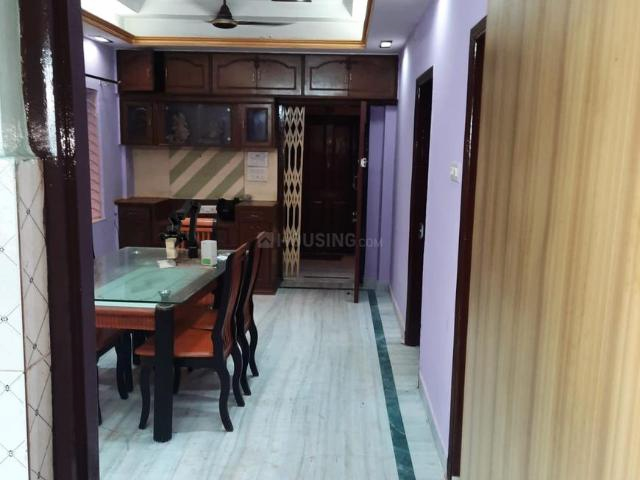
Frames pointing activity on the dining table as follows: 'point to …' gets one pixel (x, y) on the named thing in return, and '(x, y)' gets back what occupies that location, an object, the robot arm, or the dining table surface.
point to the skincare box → (209, 252)
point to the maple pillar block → (171, 248)
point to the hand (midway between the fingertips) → (170, 247)
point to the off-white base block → (166, 263)
